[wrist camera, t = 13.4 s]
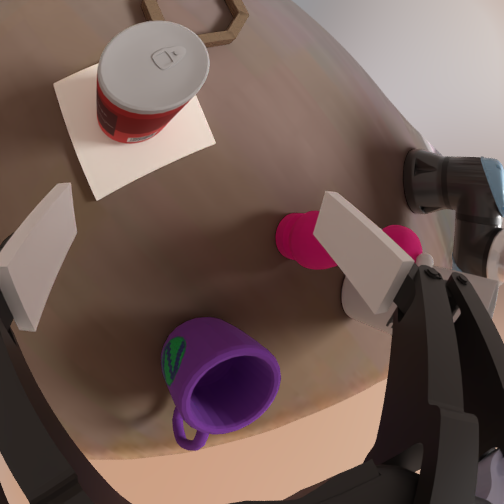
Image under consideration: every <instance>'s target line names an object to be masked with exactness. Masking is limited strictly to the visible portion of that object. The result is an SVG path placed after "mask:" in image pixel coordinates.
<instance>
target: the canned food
mask: <svg viewBox="0 0 504 504" xmlns="http://www.w3.org/2000/svg"><path fill="white" fill-rule="evenodd" d="M209 65H210V61H209V54H208V51H207V49H206V46H205V45H204V43H203V42H202V40H201V39H200V38H199V37H198V36H197V35H196V34H195V33H194V32H193V31H191V30H190V29H188V28H186V27H184V26H182V25H180V24H177V23H173V22H169V21H147V22H142V23H138V24H136V25H133V26H130V27H128V28H126V29H125V30H123V31H121V32H120V33H118V34H117V35H116V36H115V37H114V38H113V39H112V40H111V41H110V42H109V43H108V44H107V46H106V47H105V49H104V51H103V53H102V55H101V58H100V61H99V64H98V68H97V88H96V107H97V120H98V124H99V126H100V128H101V129H102V131H103V132H104V133H105V134H106V135H107V136H108V137H109V138H111V139H112V140H115V141H117V142H120V143H126V144H132V143H139V142H143V141H146V140H148V139H150V138H152V137H154V136H155V135H157V134H158V133H159V132H160V131H161V130H162V129H163V128H164V127H165V126H166V125H167V124H168V123H169V122H170V121H171V120H172V119H173V117H174V116H175V115H176V114H177V113H178V112H179V111H180V110H181V109H182V108H183V107H184V106H185V105H186V104H187V103H188V102H189V101H190V100H191V99H192V98H193V97H194V96H195V95H196V93H197V92H198V91H199V90H200V88H201V87H202V85H203V84H204V82H205V80H206V78H207V75H208V72H209Z"/></svg>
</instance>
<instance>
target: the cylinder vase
mask: <svg viewBox="0 0 504 504" xmlns="http://www.w3.org/2000/svg"><path fill="white" fill-rule="evenodd" d="M432 268H434V269H435V270H436V271H438V272H439V273H440V274H441V276H442V278H443V280H448V279H449V277H450V275H451V273H452V272H458V273H461V274H463V275H464V276H466V277H467V279H468V280H469V281H470V283H471V284H472V286H473V287H474V289H475V291H476V292H477V294H478V296H479V297H480V299H481V301H482V303H483V304H484V306H485V308H486V310H487V312H488V313H489V315H490V317H491V319H492V317H493V313H494V309H495V305H496V300H497V294H498V287H499V282H498V281H496V280H492V279H488V278H484V277H480V276H476V275H472V274H468V273H463V272H459V271H455V270H451V269H446V268H442V267H438V266H433V267H432ZM341 298H342V306H343V309H344V311H345V313H346V314H347V315H348V316H349V317H350V318H352V319H355V320H357V321H359V322H362V323H364V324H366V325H369V326H371V327H374V328H376V329H378V330H381V331H383V332H386V333H388V334H390V335H392V329H393V328H391V326H392V325H393V323H390V324H389V326H388V327H387V326H386V324H387V322H388V320H389V319H390V317H391V316H392V314H393V312H394V311H395V309H396V307H397V305H396V304H395V303H394V302H393V303H392V304H391V306H390V308H389V309H388V311H387V312H385V313H380V314H374V313H373V312H372V310H371V309H370V307H369V306H368V305H367V303H366V302H365V301H364V299H363V298H362V297H361V295H360V294H359V292H358V291H357V290H356V288H355V287H354V286H353V285H352V283H351V282H350V281H349V279H348V278H347V277H346V276H345V279H344V282H343V286H342V295H341ZM460 314H461V312H460V309H458V310H457V312H456V313H455V315H454V316H453V322H455V321H456V320H457V318H458V317H459V315H460Z"/></svg>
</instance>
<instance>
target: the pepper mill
mask: <svg viewBox="0 0 504 504" xmlns="http://www.w3.org/2000/svg"><path fill="white" fill-rule="evenodd" d="M319 212H320V211H309V212H307V213H305V214H303V213H291V214H289V215H287V216H285V217H284V218H283V219H282V220H281V222H280V223H279V225H278V227H277V230H276V245H277V248H278V250H279V252H280V253H281V254H282V255H283V256H284V257H286V258H288V259H292V260H296V261H297V262H298V263H299V264H300V265H301V266H303V267H305V268H309V269H314V270H320V269H327V268H331V267H335V266H338V265H337V264H336V262H335V261H334V260H333V259H332V257H331V256H330V255H329V254H328V252H327V251H326V250H325V248H324V247H323V246H322V245H321V243H320V242H319V241H318V240H317V239H316V237H315V236H314V235H313V232H314V229H315V225H316V222H317V219H318V215H319ZM380 229H381V228H380ZM381 230H382V231H383V232H384V233H386V234H387V235H388V236H389V237H390V238H391V239H392V240H393V241H394V242H395V243H396V244H398V245H399V246H400V247H401V248H402V249H403V250H404V251H405V252H406V253H407V254H408V255H409V256H410V257H411V258H412V259H413V260H414V261H415V262H414V263H415V264H416V265H417V266H418V267H419V266H420V265H427V266H430V267H433V258H432V256H431V255H430V254H428V253H422V247H421V243H420V240H419V238H418V237H417V235H416V234H415V233H414V232H413V231H412V230H411V229H409V228H407V227H404V226H401V225H390V226H387V227H385V228H383V229H381Z"/></svg>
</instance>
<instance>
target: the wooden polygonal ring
mask: <svg viewBox="0 0 504 504" xmlns="http://www.w3.org/2000/svg"><path fill="white" fill-rule="evenodd" d="M225 2H226V4H227V6H228V8H229V10H230V12H231V14H232V16H233V20H232V21H231V23H230V25H229V26H228V28H227V29H226V31H221V32H213V33H207V34H200V35H197V36H198V37H199V38H200V39H201V40H202V42H203V43H204V45H205V46H206V48H208V47H213V46H220V45H226V44H230V43H231V42H232V41H233V40H234V39H235V38H236V37H237V35H238V34H239V32H240V30H241V28H242V27H243V25H244V23H245V22H246V20H247V18H248V17H249V13H248V11H247V10H246V8H245V6H244V4H243V2H242V0H225ZM141 8H142V10H143V13H144V15H145V18H146V20H147V21H165V20H164V17H163V15H162V13H161V11H160V8H159V6H158V4H157V0H143V1H142V4H141Z"/></svg>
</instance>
